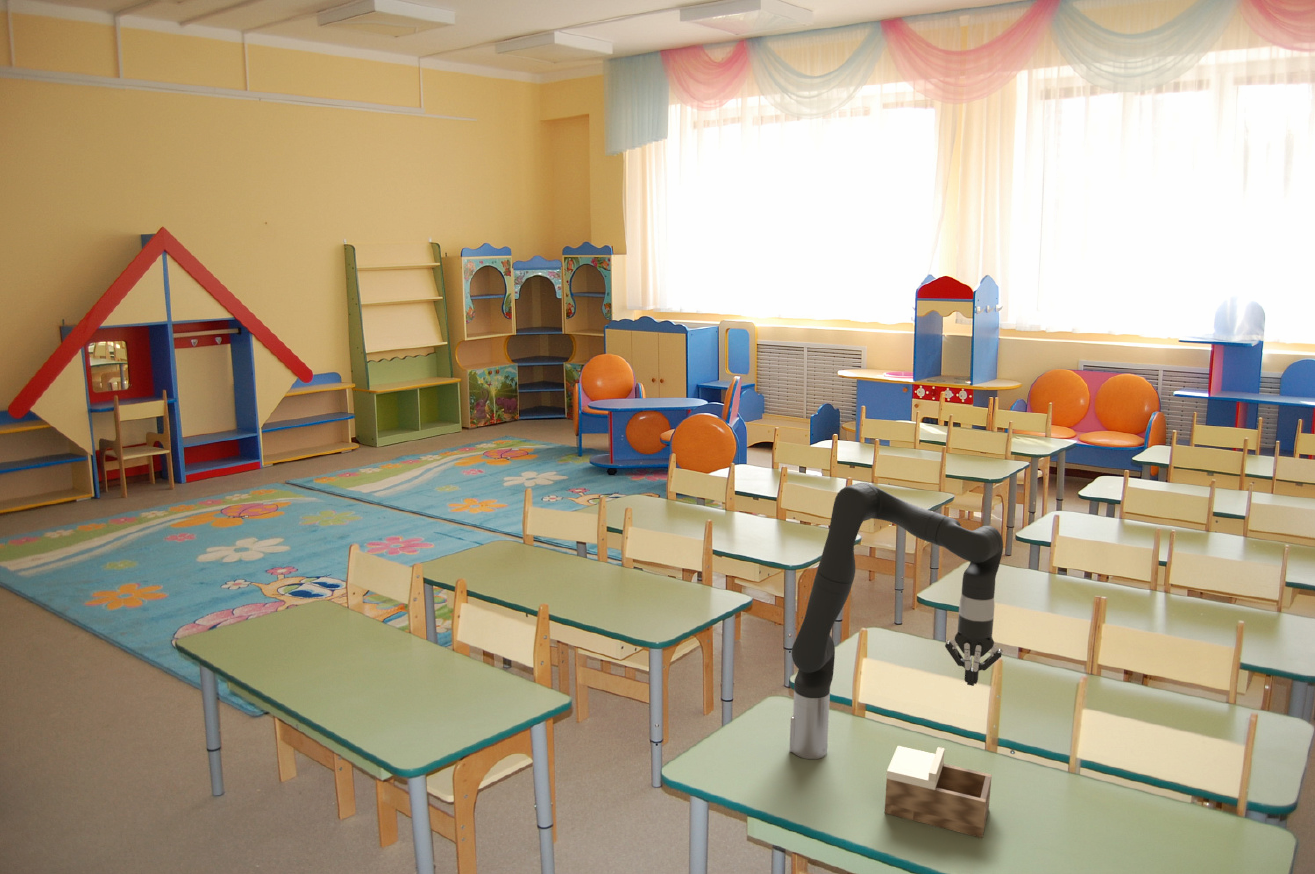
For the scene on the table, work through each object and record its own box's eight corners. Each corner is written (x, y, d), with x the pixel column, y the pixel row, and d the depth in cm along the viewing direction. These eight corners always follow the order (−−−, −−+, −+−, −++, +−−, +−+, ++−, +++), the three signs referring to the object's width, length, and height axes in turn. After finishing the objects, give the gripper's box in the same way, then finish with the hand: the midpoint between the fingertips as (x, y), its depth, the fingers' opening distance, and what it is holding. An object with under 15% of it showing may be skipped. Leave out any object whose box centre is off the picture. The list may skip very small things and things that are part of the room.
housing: (884, 813, 225) (886, 778, 223) (895, 786, 236) (897, 753, 234) (982, 837, 216) (985, 802, 214) (988, 808, 227) (991, 774, 225)
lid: (886, 778, 223) (887, 762, 223) (897, 753, 234) (898, 738, 234) (934, 790, 219) (935, 774, 218) (943, 763, 230) (944, 748, 229)
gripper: (1008, 612, 218) (1002, 683, 221) (948, 603, 223) (943, 671, 227) (1005, 624, 211) (999, 696, 215) (943, 614, 216) (938, 685, 220)
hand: (970, 683), depth 221 cm, fingers closed
